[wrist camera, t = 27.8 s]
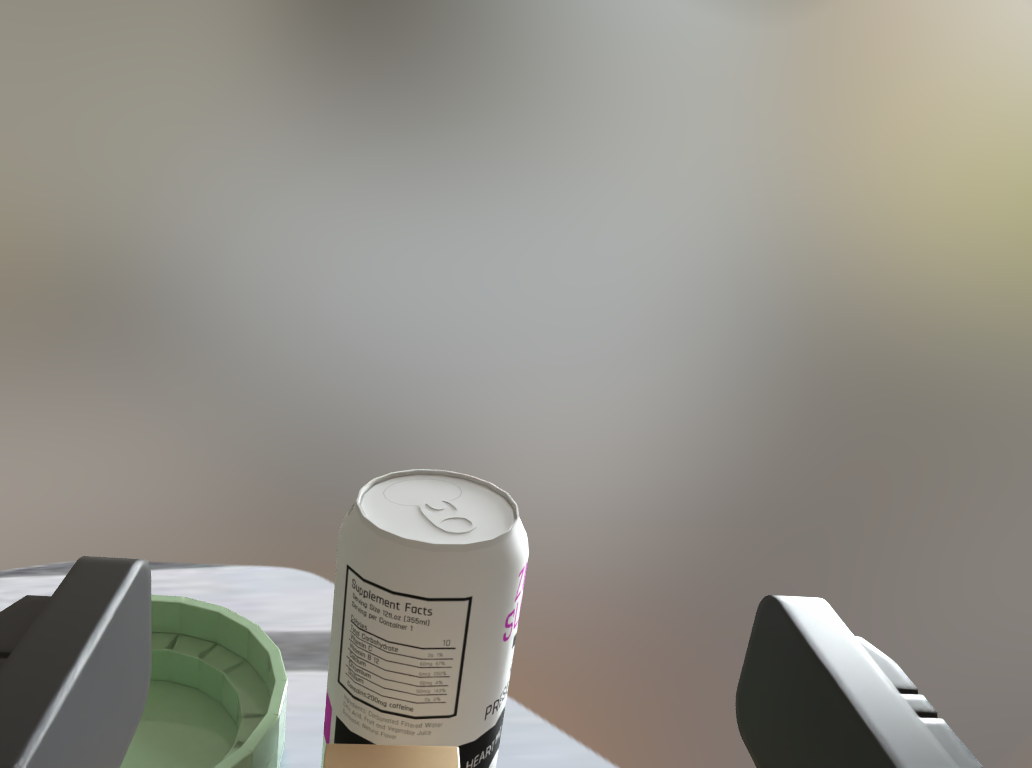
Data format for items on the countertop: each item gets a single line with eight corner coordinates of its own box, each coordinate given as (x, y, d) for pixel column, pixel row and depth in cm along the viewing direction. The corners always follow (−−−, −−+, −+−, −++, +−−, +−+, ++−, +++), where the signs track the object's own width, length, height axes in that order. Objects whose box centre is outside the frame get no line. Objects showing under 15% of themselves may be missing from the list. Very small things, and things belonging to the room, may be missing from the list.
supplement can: (295, 751, 42) (313, 475, 38) (443, 707, 47) (475, 455, 42) (359, 880, 36) (389, 568, 31) (523, 815, 40) (571, 532, 36)
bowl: (258, 648, 49) (261, 580, 48) (308, 863, 36) (314, 778, 35) (-53, 690, 43) (-61, 613, 42) (-129, 968, 30) (-143, 870, 29)
